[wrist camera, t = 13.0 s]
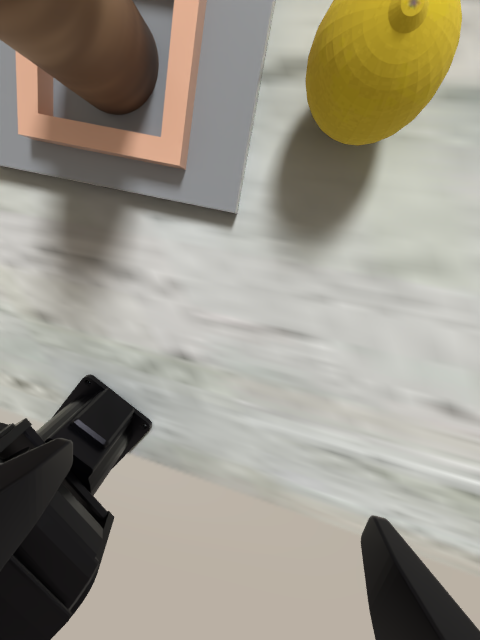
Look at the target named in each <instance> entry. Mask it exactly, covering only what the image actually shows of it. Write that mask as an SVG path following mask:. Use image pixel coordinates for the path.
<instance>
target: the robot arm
mask: <svg viewBox="0 0 480 640" xmlns="http://www.w3.org/2000/svg"><path fill="white" fill-rule="evenodd" d="M88 380H89V381H90V382H91V383H89V382H88ZM143 424H146V426H144V425H143ZM151 426H152V423H151V421H150V420H149V419H148V418H147V417H145V416H144V415H143V414H142V413H140V412H139V411H138V410H136V409H135V408H134V407H133V406H131V405H130V404H129V403H128V402H126V401H125V400H124V399H122V398H121V397H120V396H119V395H117V394H116V393H115V392H114V391H112V390H111V389H110V388H108V387H107V386H106V385H105V384H103V383H102V382H101V381H100V380H98V379H97V378H96V377H94V376H93V375H87V376H85V377H84V378H83V379H82V380H81V381H80V383H79V384H78V385H77V386H76V388H75V389H74V390H73V392H72V393H71V394H70V395H69V397H68V398H67V399H66V401H65V402H64V403H63V404H62V406H61V407H60V408H59V410H58V411H57V412H56V413H55V415H54V416H53V417H52V419H50V420H49V421H48V422H47V423H46V424H45V425H43V426H42V427H41V428H40V429H39V430H38V431H35V430H34V429H33V428H32V427H31V423H30V422H29V421H28V420H27V418H25V419H23V420H22V421H20V422H19V423H17V424H16V425H14V424H13V423H12V424H9V425H7V424H4V423H0V640H51V638H52V637H53V636H54V635H55V634H56V633H57V632H58V631H59V630H60V629H61V628H62V627H63V626H64V625H65V624H66V622H68V621H69V619H70V618H71V616H72V615H73V614H74V613H75V611H76V610H77V609H78V607H79V606H80V605H81V603H82V602H83V600H84V599H85V597H86V596H87V594H88V592H89V591H90V589H91V587H92V585H93V583H94V580H95V578H96V575H97V573H98V569H99V566H100V563H101V560H102V556H103V553H104V549H105V546H106V543H107V540H108V536H109V533H110V530H111V527H112V523H113V520H114V516H113V515H112V514H111V513H110V512H109V511H106V510H105V509H104V508H103V507H102V505H101V504H100V503H99V502H98V501H97V500H96V499H95V497H94V496H93V495H94V494H95V492H96V491H97V489H98V488H99V486H100V485H101V484H102V482H103V481H104V479H105V478H106V476H107V475H108V473H109V472H110V470H111V469H112V468H113V467H114V466H115V465H116V464H117V463H118V462H119V461H120V460H121V459H122V458H123V457H124V456H125V455H126V454H127V453H128V452H129V451H130V450H131V448H132V447H133V446H134V445H135V444H136V443H137V442H138V441H139V440H140V439H141V438H142V437H143V436H144V435H145V434H146V433H147V432H148V431H149V429H150V427H151ZM361 548H362V556H363V564H364V572H365V579H366V588H367V595H368V602H369V609H370V615H371V620H372V624H373V629H374V634H375V639H376V640H480V631H479V630H478V628H477V627H476V626H475V625H474V624H473V622H472V621H471V620H470V619H469V618H468V616H467V615H466V614H465V613H464V612H463V610H462V609H461V608H460V607H459V605H458V604H457V603H456V602H455V601H454V600H453V598H452V597H451V596H450V595H449V593H448V592H447V591H446V590H445V589H444V587H443V586H442V585H441V584H440V583H439V581H438V580H437V579H436V578H435V577H434V575H433V574H432V573H431V572H430V571H429V569H428V568H427V567H426V566H425V564H424V563H423V562H422V561H421V560H420V558H419V557H418V556H417V555H416V554H415V552H414V551H413V550H412V549H411V548H410V546H409V545H408V544H407V543H406V542H405V540H404V539H403V538H402V537H401V536H400V534H399V533H398V532H397V531H396V530H395V528H394V527H393V526H392V525H391V523H390V522H389V521H388V520H387V519H385V518H382V517H378V516H371V517H370V518H369V520H368V522H367V524H366V526H365V529H364V531H363V533H362V536H361Z"/></svg>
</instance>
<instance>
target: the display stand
mask: <svg viewBox="0 0 480 640" xmlns="http://www.w3.org/2000/svg"><path fill="white" fill-rule="evenodd" d="M132 1H133V2H134V4H135V6H136V7H137V9H138V11H139V12H140V14H141V16H142V17H143V19H144V21H145V22H146V24H147V26H148V27H149V29H150V31H151V33H152V35H153V37H154V40H155V43H156V46H157V51H158V59H159V69H158V76H157V81H156V84H155V87H154V89H153V91H152V93H151V95H150V97H149V98H148V99H147V101H146V102H145V103H144V104H143V105H142V106H141V107H139V108H138V109H136V110H135V111H133V112H130V113H127V114H122V115H114V114H109V113H105V112H103V111H101V110H99V109H97V108H96V107H94V106H93V105H91V104H90V103H89V102H87V101H86V100H84V99H83V98H82V97H80V96H79V95H77V94H76V93H75V92H73V91H72V90H70V89H69V88H67V87H66V86H65V85H63V84H62V83H60V82H59V81H58V80H56V79H55V78H53V77H52V76H51V75H49V74H48V73H46V72H45V71H44V70H42V69H41V68H39V67H38V66H37V65H35V64H34V63H32V62H31V61H29V60H28V59H27V58H25V57H24V56H22V55H21V54H20V53H18V52H17V51H15V50H14V49H13V48H11V47H10V46H8V45H7V44H6V43H4V42H3V41H1V40H0V166H3V167H8V168H13V169H18V170H23V171H28V172H33V173H38V174H43V175H48V176H53V177H58V178H63V179H68V180H72V181H77V182H82V183H87V184H92V185H97V186H102V187H107V188H112V189H117V190H122V191H127V192H132V193H137V194H142V195H147V196H152V197H156V198H161V199H166V200H171V201H176V202H181V203H186V204H191V205H196V206H201V207H206V208H211V209H216V210H221V211H226V212H231V213H236V214H237V212H238V206H239V200H240V195H241V189H242V184H243V178H244V173H245V167H246V161H247V156H248V150H249V145H250V139H251V134H252V128H253V122H254V117H255V111H256V106H257V100H258V95H259V89H260V83H261V78H262V72H263V67H264V61H265V56H266V50H267V44H268V39H269V33H270V28H271V22H272V17H273V11H274V5H275V0H132Z"/></svg>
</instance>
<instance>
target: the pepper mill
mask: <svg viewBox="0 0 480 640" xmlns="http://www.w3.org/2000/svg"><path fill="white" fill-rule="evenodd" d="M0 40H1V41H3V42H4V43H6V44H7V45H8V46H10V47H11V48H13V49H14V50H15V51H17V52H18V53H20V54H21V55H22V56H24V57H25V58H27V59H28V60H29V61H31V62H32V63H34V64H35V65H37V66H38V67H39V68H41V69H42V70H44V71H45V72H46V73H48V74H49V75H51V76H52V77H53V78H55V79H56V80H58V81H59V82H60V83H62V84H63V85H65V86H66V87H67V88H69V89H70V90H72V91H73V92H75V93H76V94H77V95H79V96H80V97H82V98H83V99H84V100H86V101H87V102H89V103H90V104H91V105H93V106H94V107H96V108H97V109H99V110H101V111H103V112H105V113H109V114H114V115H122V114H127V113H130V112H133V111H135V110H136V109H138V108H139V107H141V106H142V105H143V104H144V103H145V102H146V101H147V99H148V98H149V97H150V95H151V93H152V91H153V89H154V87H155V84H156V81H157V76H158V69H159V59H158V51H157V46H156V43H155V40H154V37H153V35H152V33H151V31H150V29H149V27H148V26H147V24H146V22H145V21H144V19H143V17H142V16H141V14H140V12H139V11H138V9H137V7H136V6H135V4H134V2H133V1H132V0H0Z"/></svg>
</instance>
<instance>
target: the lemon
mask: <svg viewBox="0 0 480 640" xmlns="http://www.w3.org/2000/svg"><path fill="white" fill-rule="evenodd" d="M461 22H462V13H461V3H460V0H334V1H333V2H332V4H331V6H330V8H329V9H328V11H327V13H326V15H325V16H324V18H323V20H322V22H321V23H320V25H319V27H318V30H317V32H316V35H315V38H314V41H313V44H312V47H311V50H310V53H309V57H308V64H307V73H306V91H307V101H308V104H309V107H310V110H311V113H312V116H313V118H314V120H315V121H316V123H317V124H318V126H319V127H320V129H321V130H322V131H323V132H324V133H326V134H327V135H328V136H329V137H330V138H332V139H334V140H336V141H338V142H341V143H343V144H350V145H364V144H371V143H375V142H378V141H380V140H382V139H385V138H387V137H389V136H391V135H393V134H395V133H396V132H398V131H399V130H400V129H402V128H403V127H404V126H406V125H407V124H409V123H410V122H411V121H412V120H413V119H414V118H415V117H416V116H417V115H418V114H419V113H420V112H421V111H422V109H423V108H424V107H425V106H426V105H427V104H428V103H429V101H430V100H431V99H432V98H433V96H434V95H435V93H436V91H437V90H438V88H439V86H440V84H441V83H442V81H443V79H444V78H445V76H446V74H447V72H448V70H449V68H450V66H451V63H452V60H453V57H454V55H455V52H456V49H457V46H458V42H459V38H460V30H461Z"/></svg>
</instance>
